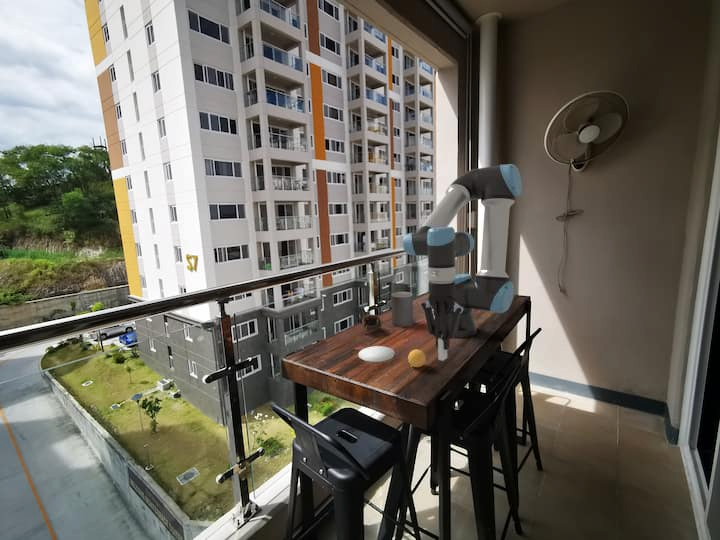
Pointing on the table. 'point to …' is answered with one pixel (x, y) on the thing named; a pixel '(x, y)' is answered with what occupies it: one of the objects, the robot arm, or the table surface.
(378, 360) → the disc
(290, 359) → the table surface
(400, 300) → the pillar candle
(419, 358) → the ball
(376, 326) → the pottery mug
